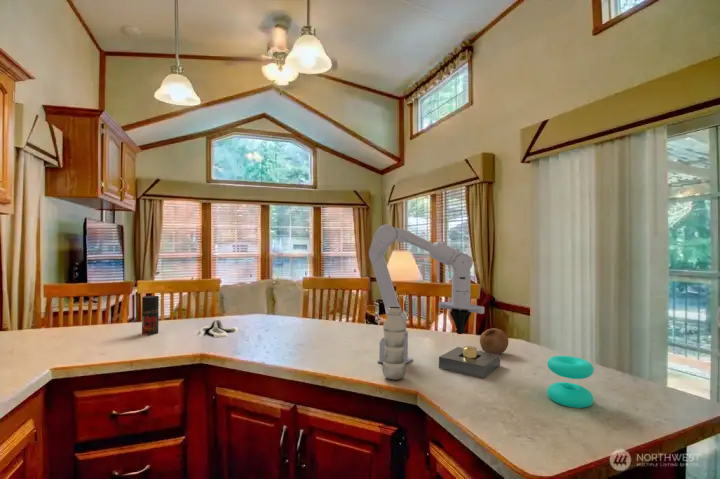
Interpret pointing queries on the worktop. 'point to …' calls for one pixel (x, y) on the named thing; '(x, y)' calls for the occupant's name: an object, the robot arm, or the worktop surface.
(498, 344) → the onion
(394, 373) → the plastic bottle
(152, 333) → the deodorant
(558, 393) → the donuts
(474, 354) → the bushing
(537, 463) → the worktop surface
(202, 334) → the cloth
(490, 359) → the block
